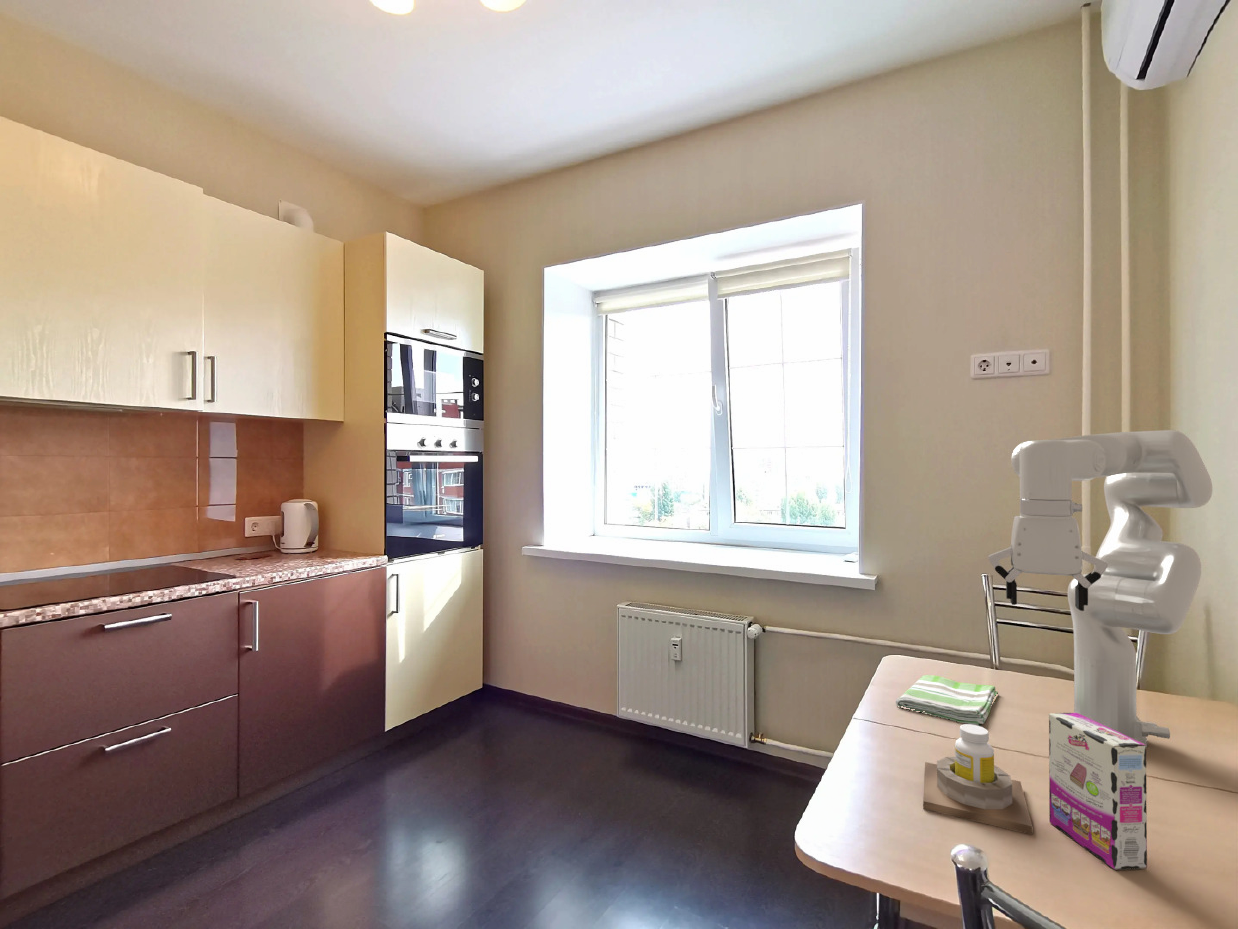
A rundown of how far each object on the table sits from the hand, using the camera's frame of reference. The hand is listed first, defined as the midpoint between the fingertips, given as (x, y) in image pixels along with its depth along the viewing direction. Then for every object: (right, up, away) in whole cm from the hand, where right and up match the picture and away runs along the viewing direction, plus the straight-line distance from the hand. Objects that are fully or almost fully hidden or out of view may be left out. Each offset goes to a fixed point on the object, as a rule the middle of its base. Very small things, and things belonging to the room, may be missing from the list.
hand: (1045, 606), depth 106 cm
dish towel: (-1, -29, +30) cm, 42 cm away
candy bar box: (-9, -28, -22) cm, 37 cm away
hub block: (-19, -28, -10) cm, 36 cm away
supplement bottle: (-19, -27, -10) cm, 35 cm away
